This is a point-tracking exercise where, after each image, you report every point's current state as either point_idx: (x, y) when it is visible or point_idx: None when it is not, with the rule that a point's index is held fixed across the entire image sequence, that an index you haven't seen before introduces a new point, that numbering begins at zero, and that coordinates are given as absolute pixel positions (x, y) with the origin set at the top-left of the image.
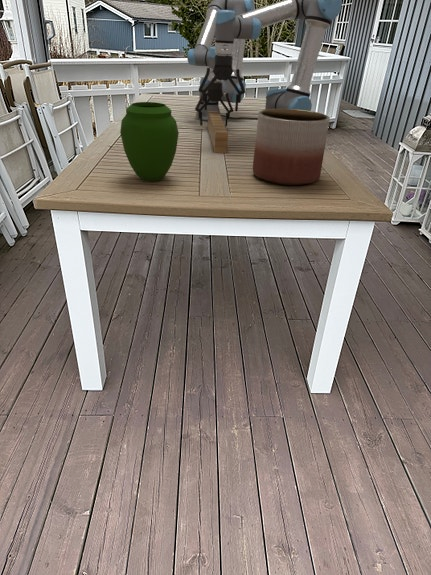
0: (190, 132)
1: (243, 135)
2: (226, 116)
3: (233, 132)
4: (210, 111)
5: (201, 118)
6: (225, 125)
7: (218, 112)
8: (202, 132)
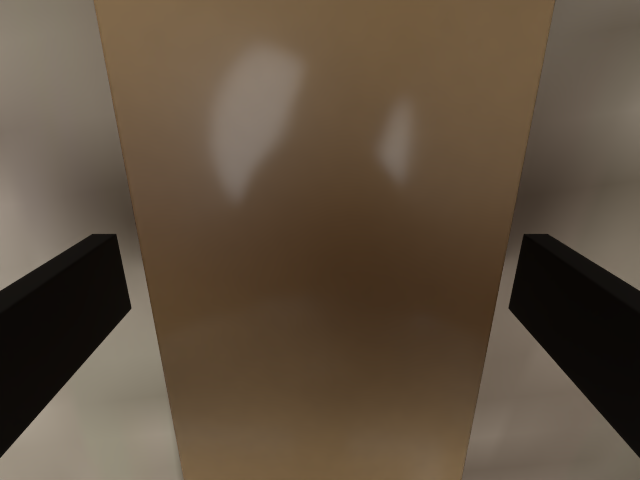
0: None
1: None
2: (620, 429)
3: None
4: (190, 20)
5: (54, 382)
6: (520, 266)
7: (507, 199)
8: None
